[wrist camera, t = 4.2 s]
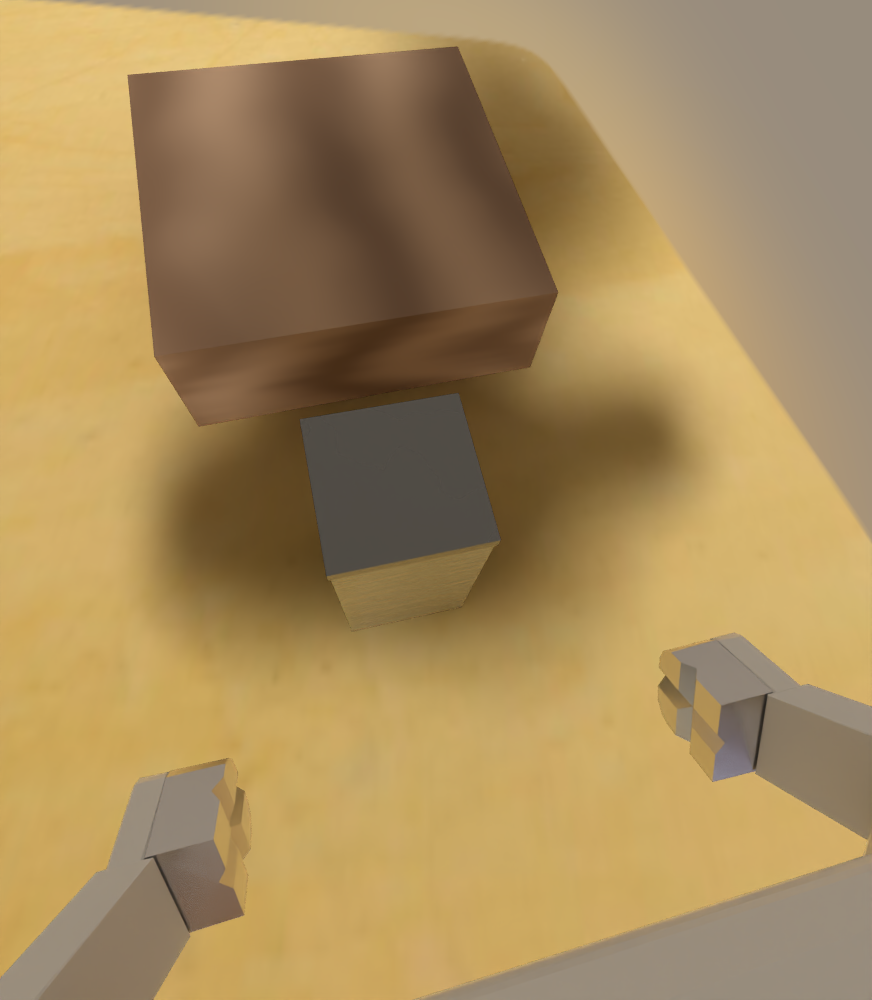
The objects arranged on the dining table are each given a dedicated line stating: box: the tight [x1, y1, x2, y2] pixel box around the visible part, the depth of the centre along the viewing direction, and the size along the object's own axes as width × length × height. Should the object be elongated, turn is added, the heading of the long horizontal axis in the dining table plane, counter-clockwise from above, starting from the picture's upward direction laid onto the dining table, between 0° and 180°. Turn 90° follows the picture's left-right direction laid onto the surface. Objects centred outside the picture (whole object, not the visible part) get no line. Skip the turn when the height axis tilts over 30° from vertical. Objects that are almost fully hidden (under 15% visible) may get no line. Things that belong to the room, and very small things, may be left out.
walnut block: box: [128, 47, 558, 426], centre depth 24 cm, size 14×14×5 cm
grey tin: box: [300, 393, 501, 631], centre depth 18 cm, size 4×4×8 cm
